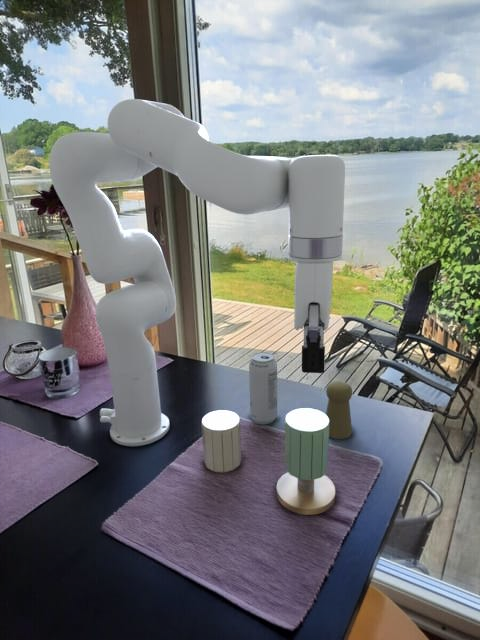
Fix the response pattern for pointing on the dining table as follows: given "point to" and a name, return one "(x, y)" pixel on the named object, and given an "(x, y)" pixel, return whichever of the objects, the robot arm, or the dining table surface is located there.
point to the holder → (305, 494)
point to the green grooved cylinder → (306, 443)
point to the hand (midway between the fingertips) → (313, 358)
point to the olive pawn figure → (339, 409)
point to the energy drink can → (263, 388)
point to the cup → (221, 440)
